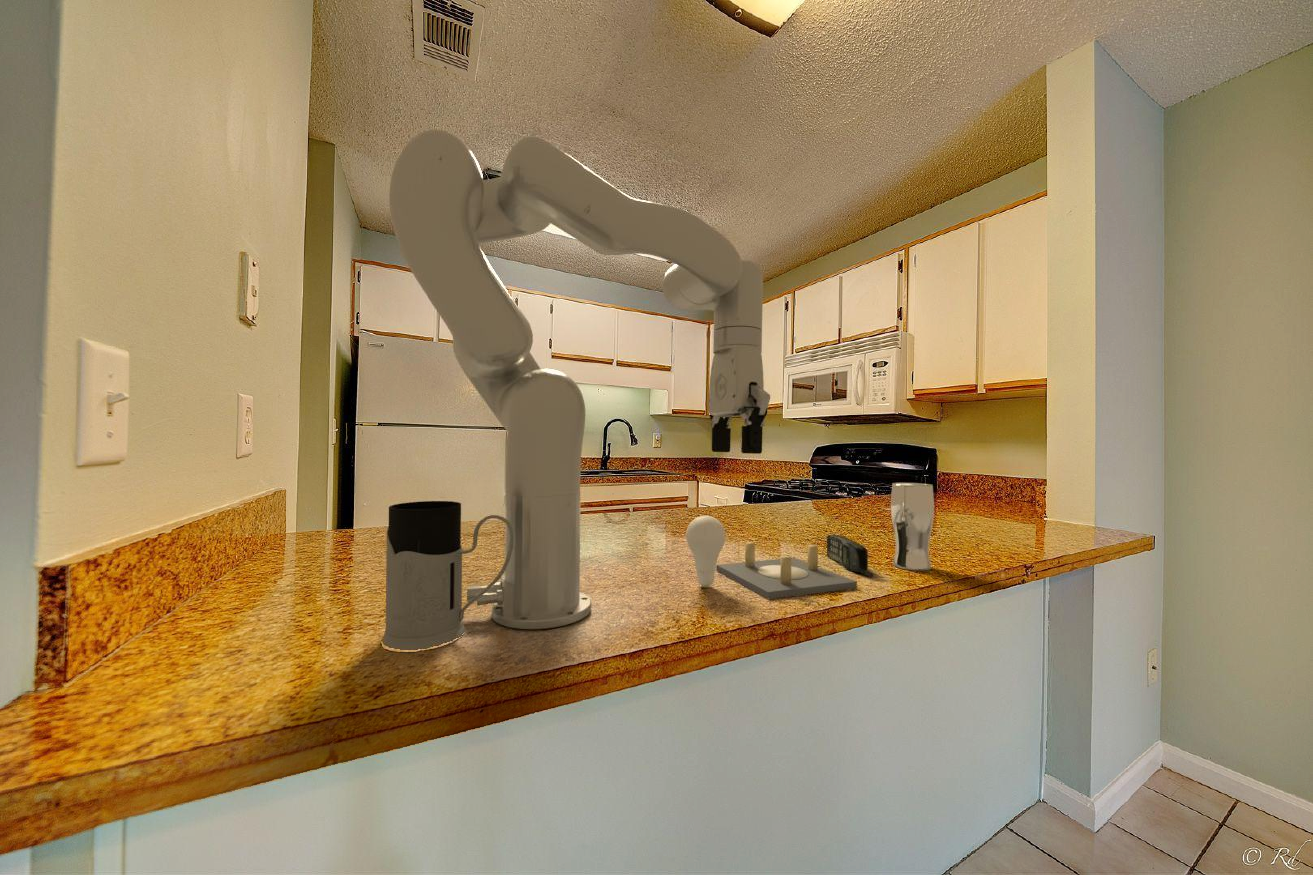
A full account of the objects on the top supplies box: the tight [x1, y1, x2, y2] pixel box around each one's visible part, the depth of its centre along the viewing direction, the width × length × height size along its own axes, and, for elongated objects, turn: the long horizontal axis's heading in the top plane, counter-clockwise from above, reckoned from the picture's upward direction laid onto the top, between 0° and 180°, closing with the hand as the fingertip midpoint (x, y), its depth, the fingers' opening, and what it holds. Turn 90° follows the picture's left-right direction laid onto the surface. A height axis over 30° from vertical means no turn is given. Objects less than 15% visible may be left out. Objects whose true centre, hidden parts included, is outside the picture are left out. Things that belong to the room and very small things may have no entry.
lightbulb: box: [685, 515, 727, 588], centre depth 74 cm, size 6×6×11 cm
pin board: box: [715, 541, 858, 600], centre depth 79 cm, size 16×16×5 cm
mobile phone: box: [826, 534, 874, 578], centre depth 88 cm, size 5×3×15 cm
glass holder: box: [381, 500, 514, 650], centre depth 55 cm, size 9×14×15 cm, turn 95°
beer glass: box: [890, 482, 935, 572], centre depth 87 cm, size 7×7×15 cm
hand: (735, 452), depth 75 cm, fingers open, 9 cm apart
